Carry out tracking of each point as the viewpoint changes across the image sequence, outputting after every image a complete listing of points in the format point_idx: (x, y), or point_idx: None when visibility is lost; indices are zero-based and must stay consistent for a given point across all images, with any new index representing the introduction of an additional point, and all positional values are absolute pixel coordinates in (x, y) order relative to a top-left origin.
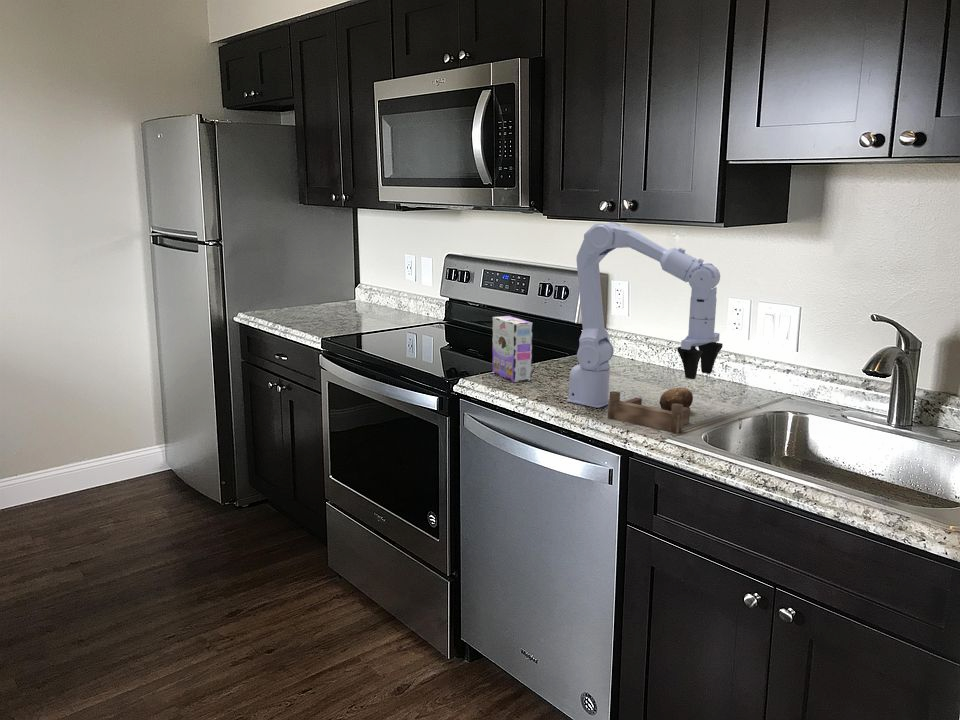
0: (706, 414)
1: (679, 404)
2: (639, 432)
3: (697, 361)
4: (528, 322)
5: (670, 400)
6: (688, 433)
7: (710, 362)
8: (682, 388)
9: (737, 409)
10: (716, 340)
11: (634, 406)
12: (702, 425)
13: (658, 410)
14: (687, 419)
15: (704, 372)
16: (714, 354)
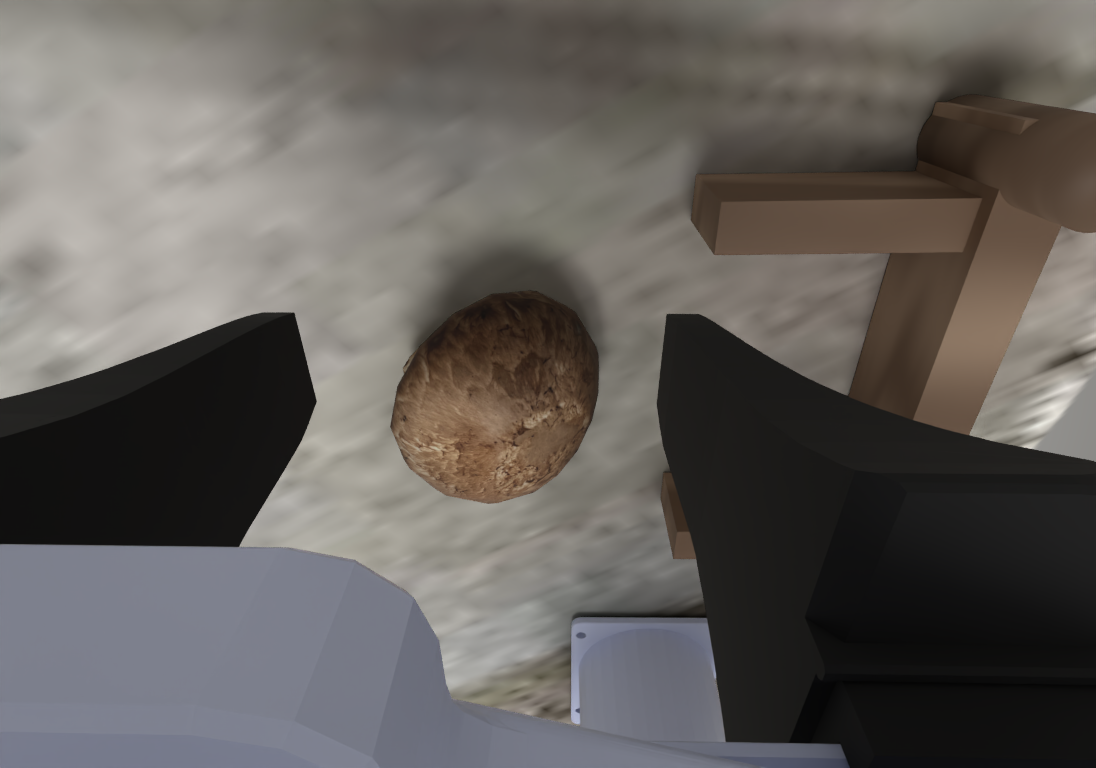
0: (410, 193)
1: (1088, 172)
2: (1076, 298)
3: (814, 405)
4: None
5: (589, 408)
6: (970, 34)
7: (212, 391)
8: (467, 427)
9: (95, 82)
10: (160, 618)
11: None
12: (697, 64)
13: (998, 317)
14: (733, 180)
15: (307, 376)
16: (96, 422)
